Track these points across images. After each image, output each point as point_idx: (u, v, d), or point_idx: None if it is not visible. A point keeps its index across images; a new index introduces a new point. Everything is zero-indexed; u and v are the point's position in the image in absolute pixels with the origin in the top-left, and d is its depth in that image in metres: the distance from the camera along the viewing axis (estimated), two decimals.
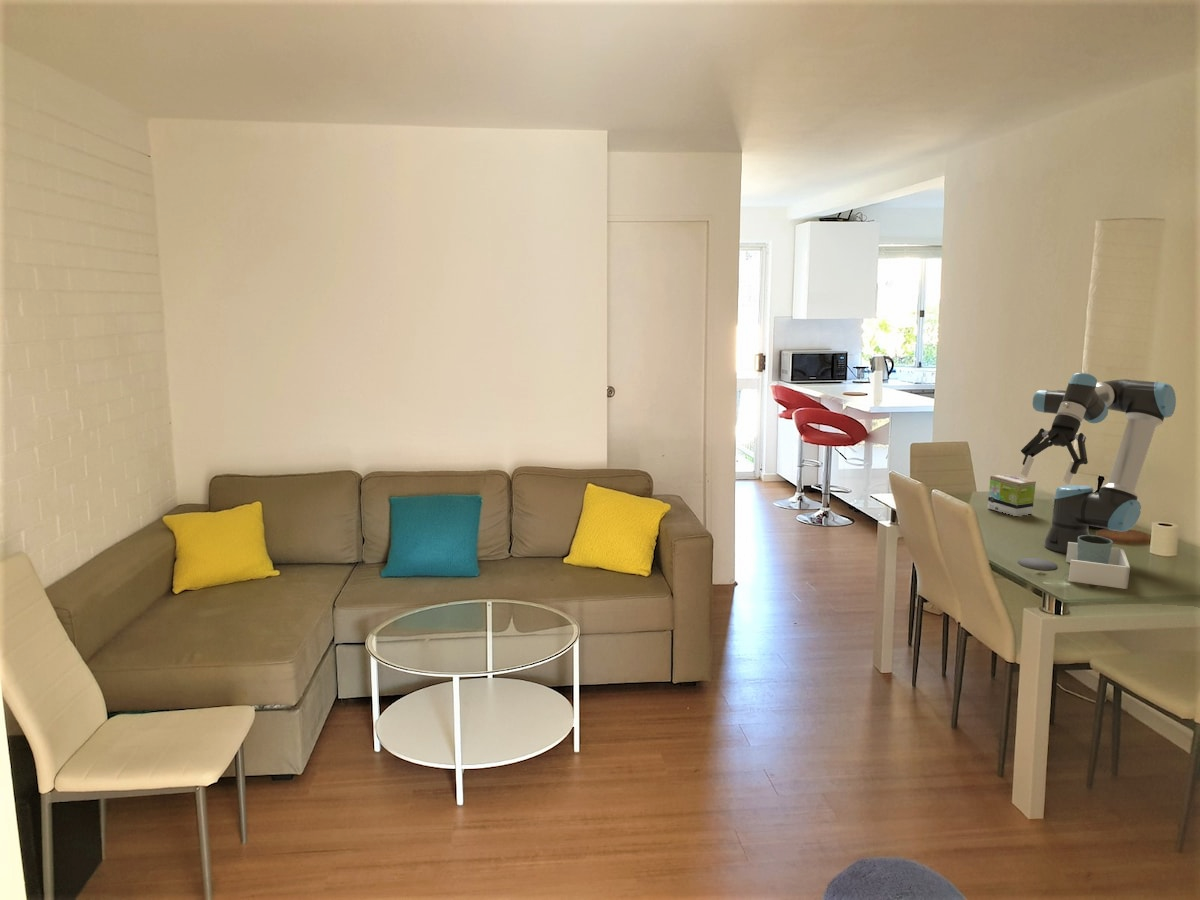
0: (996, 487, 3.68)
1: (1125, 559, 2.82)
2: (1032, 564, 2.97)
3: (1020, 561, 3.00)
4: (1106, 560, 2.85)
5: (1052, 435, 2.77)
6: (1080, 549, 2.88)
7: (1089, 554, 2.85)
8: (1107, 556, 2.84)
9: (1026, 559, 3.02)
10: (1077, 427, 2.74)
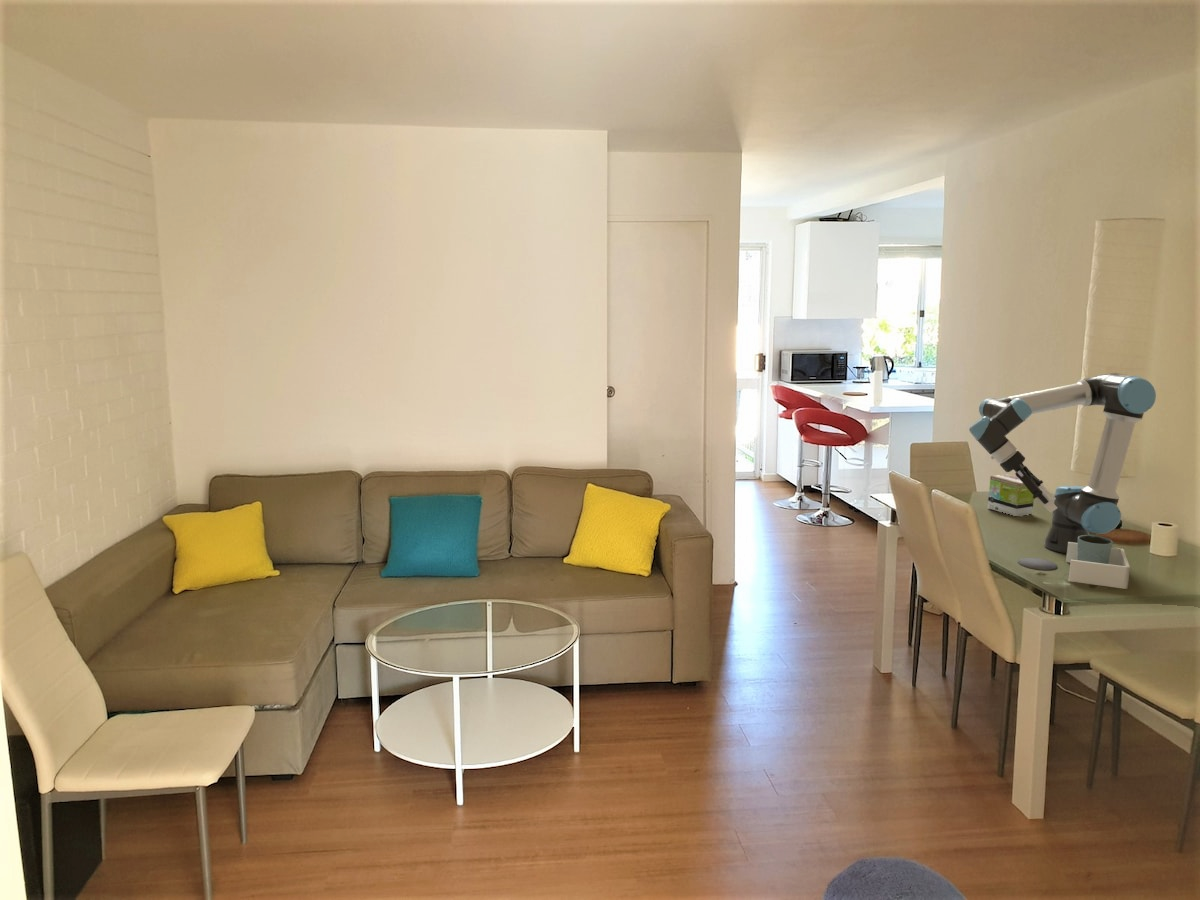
0: (996, 487, 3.68)
1: (1125, 559, 2.82)
2: (1032, 564, 2.97)
3: (1020, 561, 3.00)
4: (1106, 560, 2.85)
5: None
6: (1080, 549, 2.87)
7: (1089, 554, 2.85)
8: (1107, 556, 2.84)
9: (1026, 559, 3.02)
10: (1013, 464, 2.91)
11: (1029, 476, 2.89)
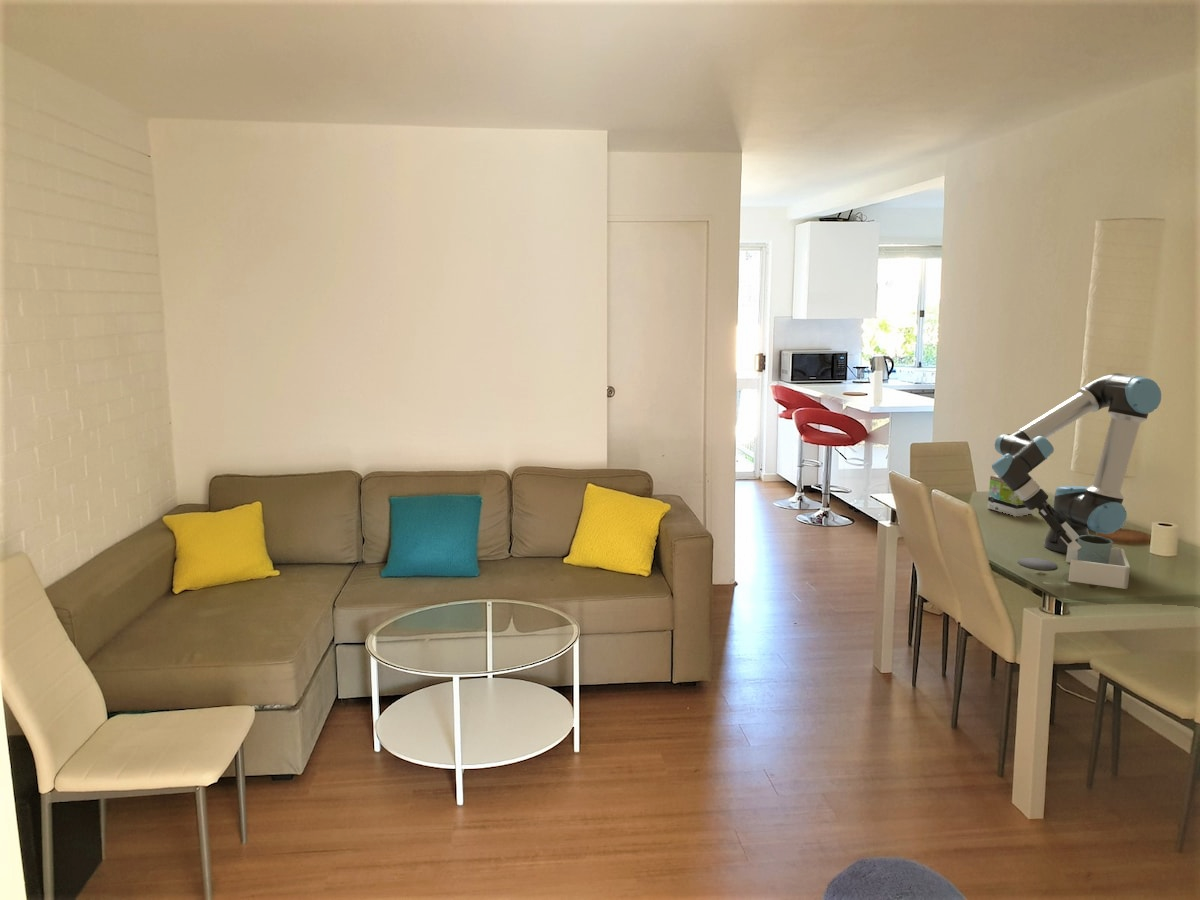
0: (996, 487, 3.68)
1: (1125, 559, 2.82)
2: (1032, 564, 2.97)
3: (1020, 561, 3.00)
4: (1106, 560, 2.85)
5: None
6: (1080, 549, 2.88)
7: (1089, 554, 2.85)
8: (1107, 556, 2.84)
9: (1026, 559, 3.02)
10: (1036, 502, 2.89)
11: (1052, 515, 2.87)
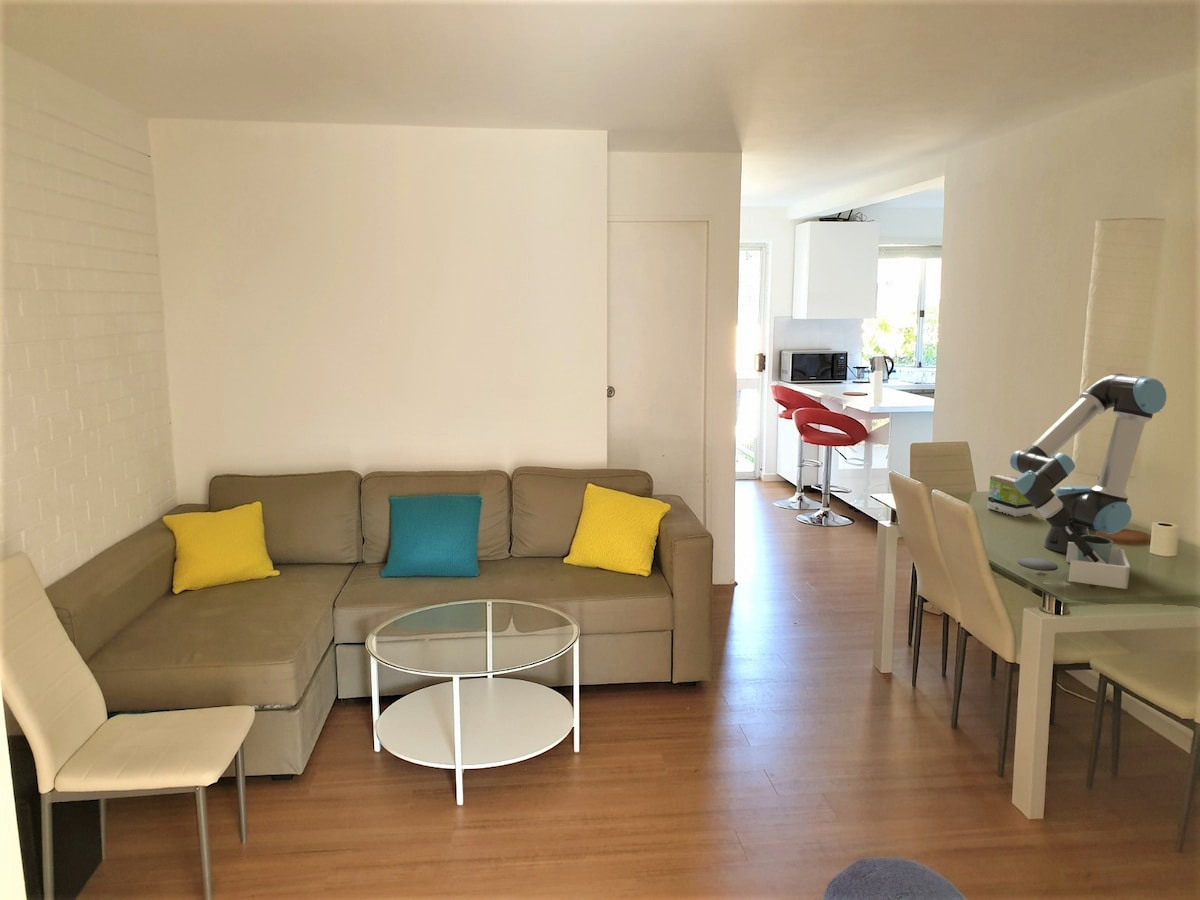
0: (996, 487, 3.68)
1: (1125, 559, 2.82)
2: (1032, 564, 2.97)
3: (1020, 561, 3.00)
4: (1106, 560, 2.84)
5: None
6: None
7: None
8: (1107, 556, 2.84)
9: (1026, 559, 3.02)
10: (1060, 520, 2.87)
11: (1077, 533, 2.86)
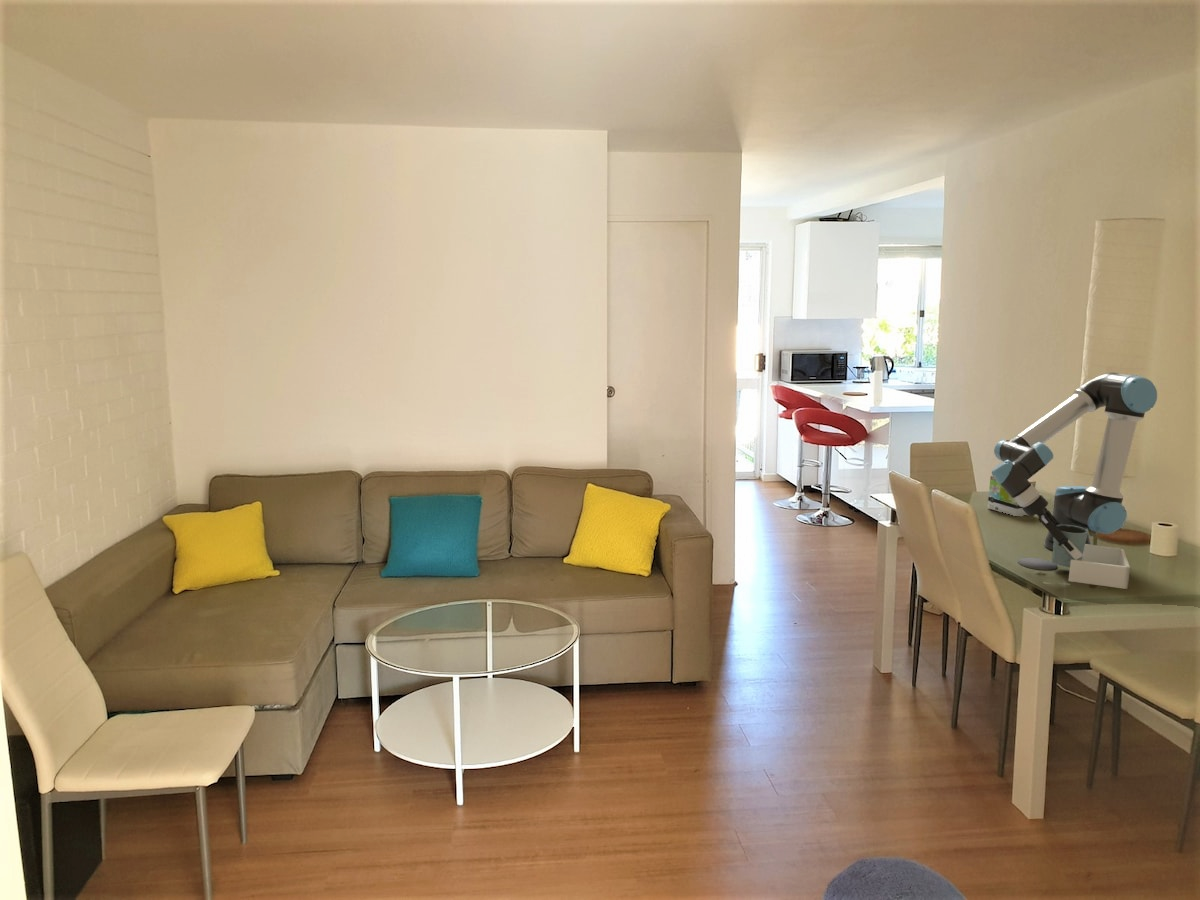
0: (996, 487, 3.68)
1: (1125, 559, 2.82)
2: (1032, 564, 2.97)
3: (1020, 561, 3.00)
4: (1081, 549, 2.86)
5: None
6: None
7: None
8: (1082, 545, 2.86)
9: (1026, 559, 3.02)
10: (1036, 509, 2.89)
11: (1053, 522, 2.88)
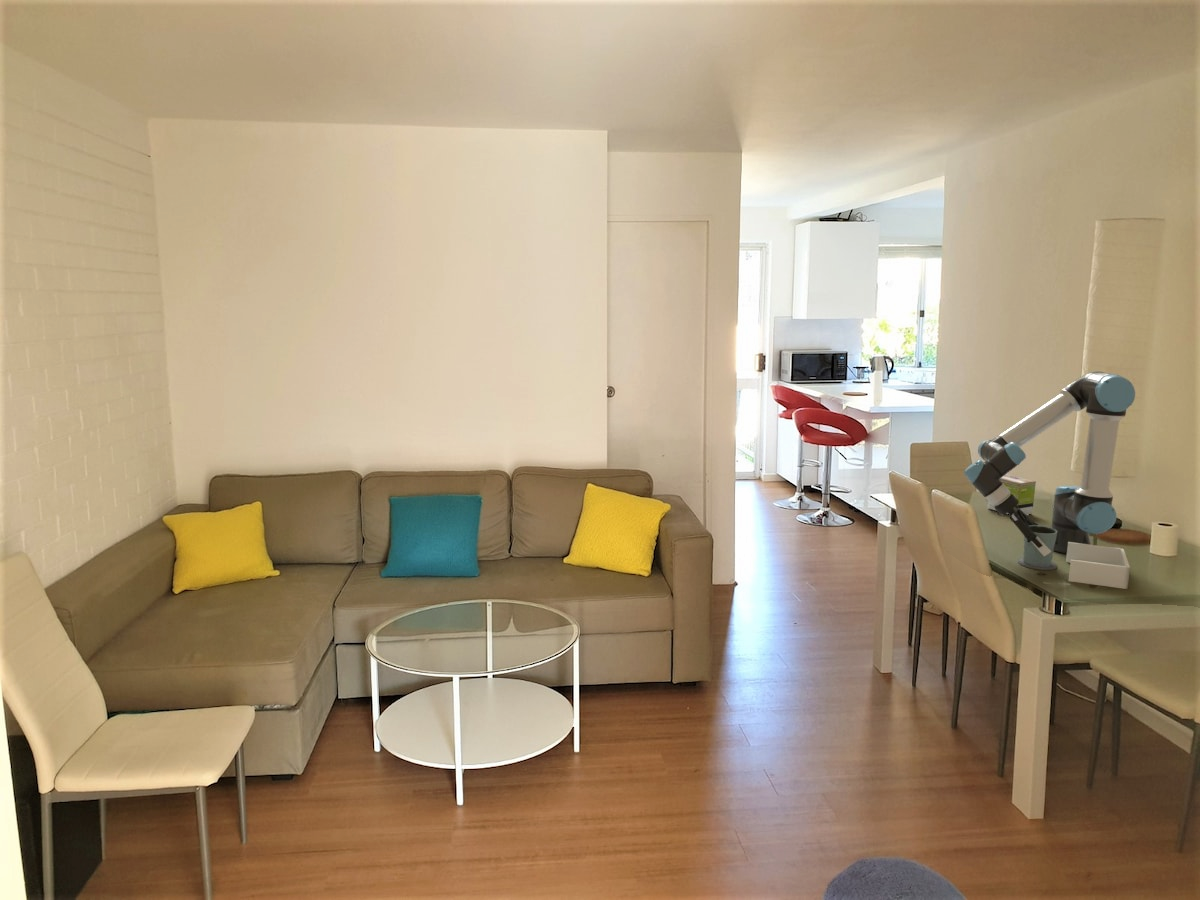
0: None
1: (1125, 559, 2.82)
2: None
3: (1020, 561, 3.00)
4: (1051, 549, 2.94)
5: None
6: (1026, 539, 2.97)
7: None
8: (1052, 545, 2.93)
9: None
10: (1007, 508, 2.97)
11: (1023, 520, 2.95)
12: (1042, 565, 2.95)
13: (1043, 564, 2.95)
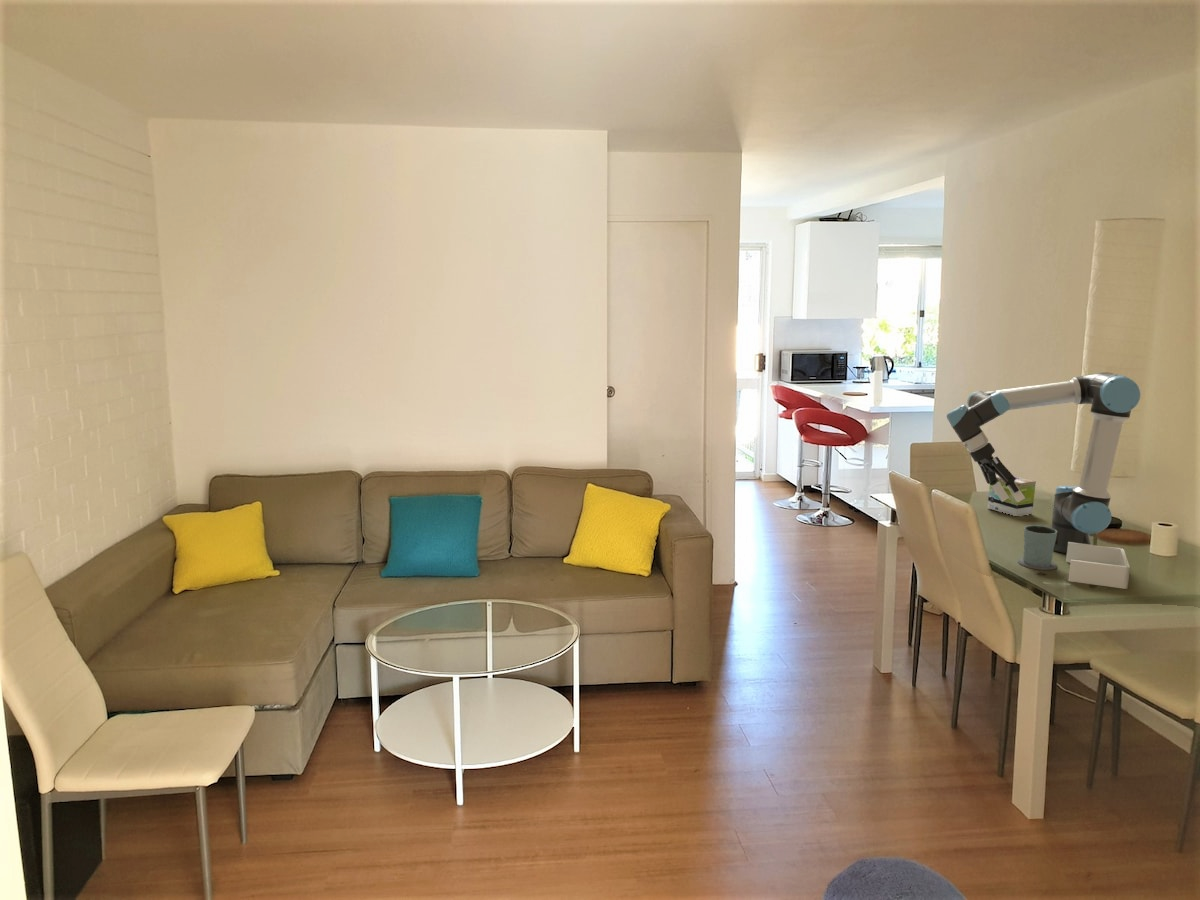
0: None
1: (1125, 559, 2.82)
2: None
3: (1020, 561, 3.00)
4: (1051, 549, 2.94)
5: (984, 467, 3.03)
6: (1026, 539, 2.97)
7: (1034, 543, 2.94)
8: (1052, 545, 2.93)
9: None
10: (987, 453, 2.98)
11: None
12: (1042, 565, 2.95)
13: (1043, 564, 2.95)
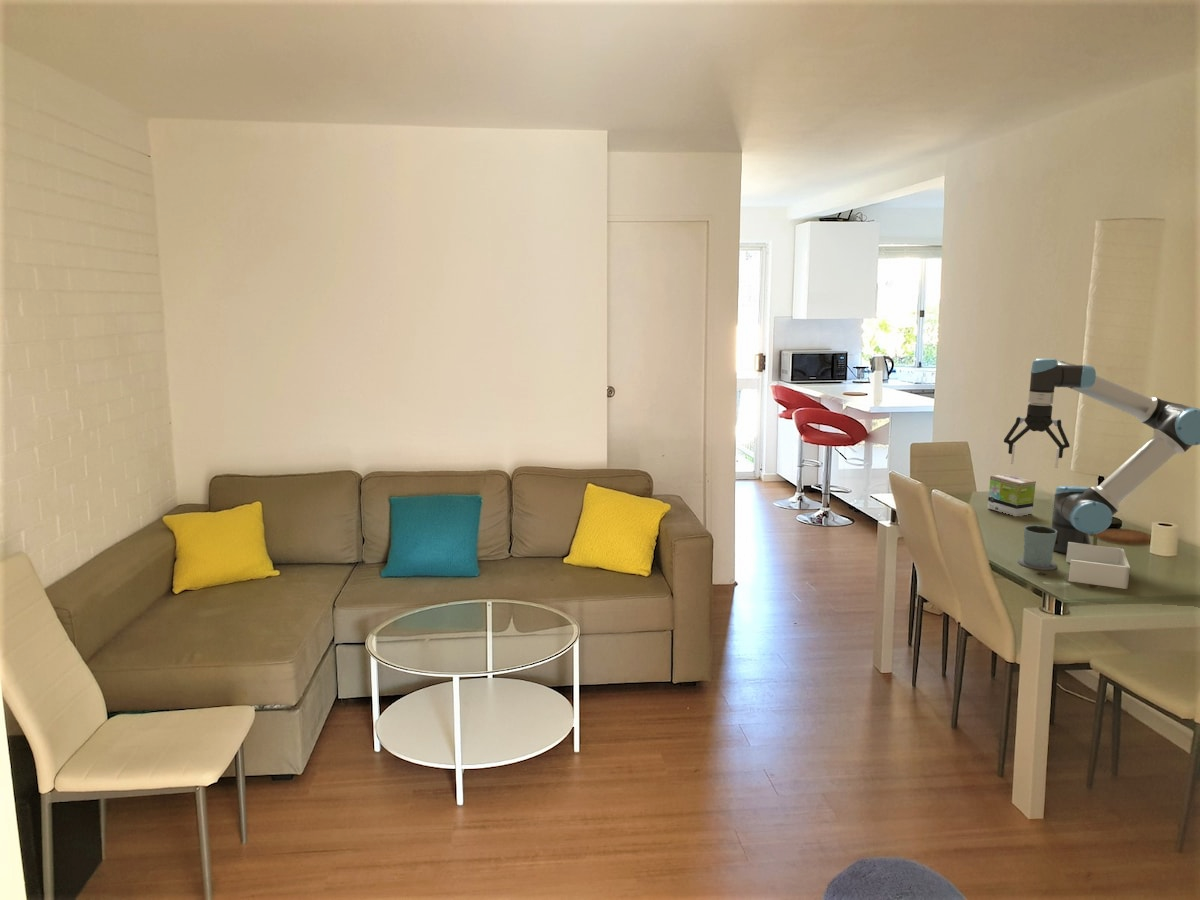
0: (996, 487, 3.68)
1: (1125, 559, 2.82)
2: None
3: (1020, 561, 3.00)
4: (1051, 549, 2.94)
5: (1032, 425, 2.98)
6: (1026, 539, 2.97)
7: (1034, 543, 2.94)
8: (1052, 545, 2.93)
9: None
10: (1051, 412, 2.96)
11: (1050, 429, 2.99)
12: (1042, 565, 2.95)
13: (1043, 564, 2.95)
